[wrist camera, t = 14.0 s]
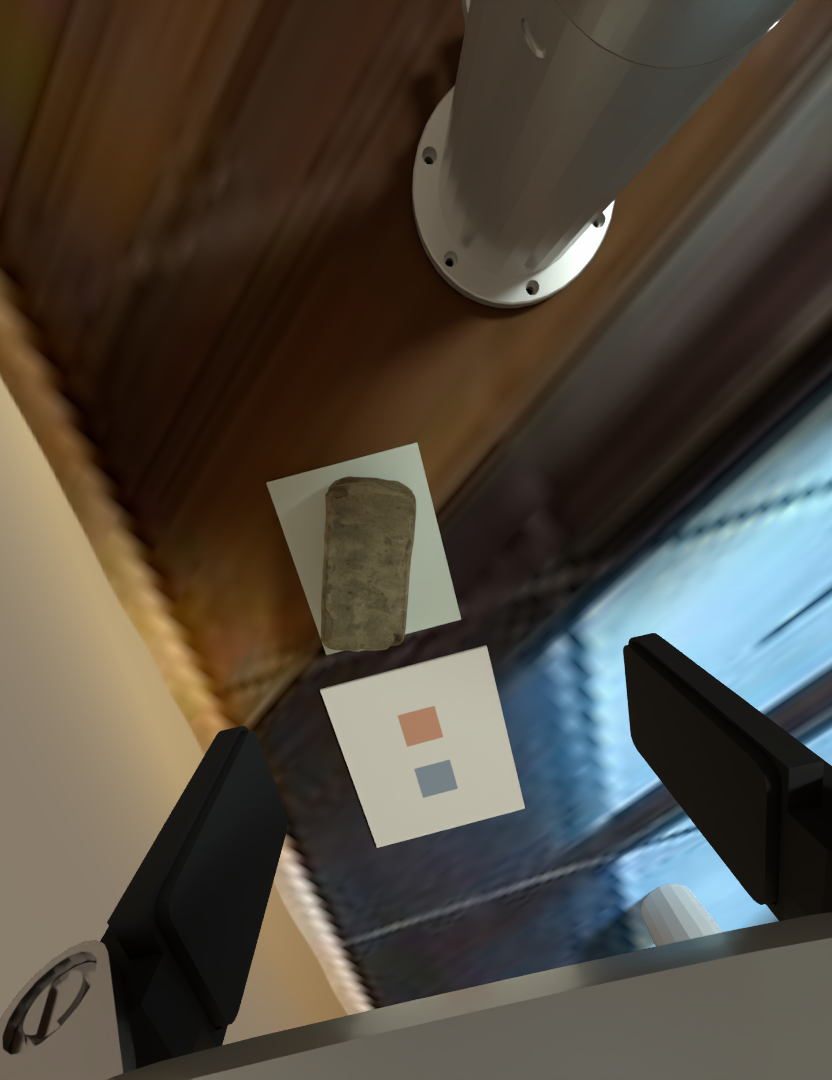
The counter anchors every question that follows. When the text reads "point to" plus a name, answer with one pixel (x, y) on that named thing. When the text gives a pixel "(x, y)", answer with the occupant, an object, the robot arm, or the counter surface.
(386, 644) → the stone block
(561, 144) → the robot arm
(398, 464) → the pale green pad
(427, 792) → the tile
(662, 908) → the white cylinder
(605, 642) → the counter surface
